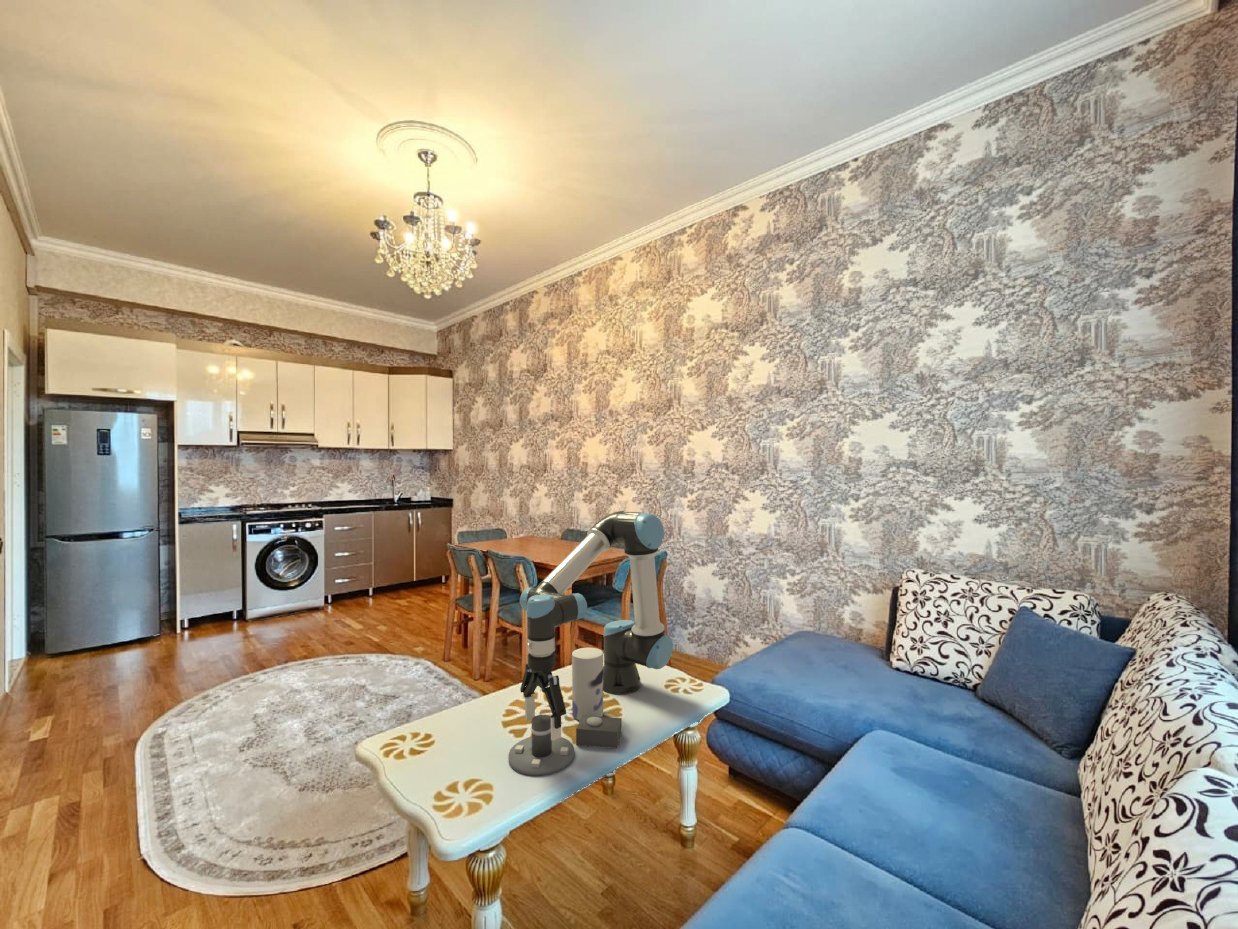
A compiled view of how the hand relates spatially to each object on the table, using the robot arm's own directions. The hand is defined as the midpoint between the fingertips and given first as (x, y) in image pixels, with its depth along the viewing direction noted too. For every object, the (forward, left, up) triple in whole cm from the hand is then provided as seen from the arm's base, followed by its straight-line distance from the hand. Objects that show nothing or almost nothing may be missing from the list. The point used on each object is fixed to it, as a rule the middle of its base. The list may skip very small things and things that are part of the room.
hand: (542, 729), depth 141 cm
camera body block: (-17, +4, -8) cm, 19 cm away
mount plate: (0, 0, -7) cm, 7 cm away
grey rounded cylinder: (0, 0, -6) cm, 6 cm away
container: (-24, -11, -8) cm, 27 cm away
